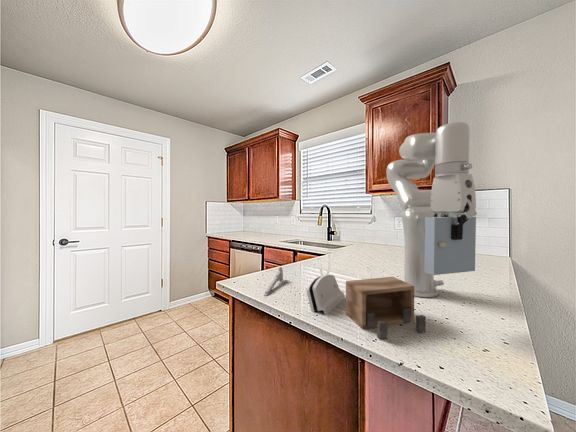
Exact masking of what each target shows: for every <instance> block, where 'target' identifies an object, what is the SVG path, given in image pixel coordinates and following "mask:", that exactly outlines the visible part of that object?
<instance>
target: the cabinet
mask: <svg viewBox="0 0 576 432" xmlns="http://www.w3.org/2000/svg"><path fill="white" fill-rule="evenodd" d="M345 315H346V316H347V317H348V318H350V320H351V321H353V322H354V323H355V324H356V325H357V326H358V327H360V329H362V330H365V329H366V330H369V329H374V328H377V329H376V330H377V331H376V332H377V333H376V335H377V336H376V338H377V339H379V340H386V339H388V326H393V325H401V324H409V323H414V322H415V332H417V333H418V334H421V333H426V322H427V321H426V320H427V319H426V316H425V315H424V314H418V315H415V296H414V286H413V285H411V284H409V283H406V282H404V280H402V279H399V278H397V277H394V276H386V277H375V278H365V279H364V278H363V279H354V280H353V279H351V280H346V281H345Z"/></svg>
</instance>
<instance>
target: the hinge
mask: <svg viewBox="0 0 576 432" xmlns="http://www.w3.org/2000/svg"><path fill="white" fill-rule="evenodd" d="M306 295H307V299H308V304H309V308H310V312H312V313H313V312H315V311H317V312H321V311H323V313H324V315H325V316H327V315H329V313H330V312H331V311H333V309H334V308H335V307H336V306H338V305H339V304H340V303H341V302H342V301H343V300H344V299H346V294H345V292H343V291H342V290H341V289H340V286H339V284H338V282H337V279H336V276H335V275H331V274H324V275H319V276H318V277H316V278H314V279H313V280H311V281H310V282H309V284H308V285H307V287H306Z"/></svg>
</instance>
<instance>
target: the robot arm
mask: <svg viewBox="0 0 576 432" xmlns="http://www.w3.org/2000/svg"><path fill="white" fill-rule="evenodd" d="M403 141H404V142H402V144H401V145H400V147H399V151H398V152H399V153H398V154H399V156H400V157H401V158H402V159H397V160H393V161H391V162H390V163H388V165H387V167H386V179H387V183H388V185H389V186H390V188H391V189H392V191H394V193H395V195H396V197H397V200H398V202H399V206H400V207H401V210H403V213H402V216H401V223H402V227H403V228H402V229H403V235H404V236H403V237H404V272H403V273H404V274H403V276H404V277H403V278H404V279H403V281H404V282H406V283H409V284H411V285H413V286H414V297H419V298H435V297H438V295H439V290H438V288H437V287H438V286H440V287H441V286H444V284H445V283H444V280H443V279H441V280H440V279H438V280H436V279H434V276H435V275H432V274H429V273H426V272H425V217H453V224H454V225H451V239H452V240H461V239H462V238H463V225H464V224H465V223H466V221H467V220H468V219H469V218H471V217H476V216H477V214H478V212H477V211H476V210H477V208H476V207H477V199H476V198H477V197H476V196H477V195H476V186H475V181H474V177H473V175H472V173H471V174H470V173H469V171H470V169H472V168H473V164H472V163H470V125H469V124H468V123H466V122H462V121H457V122H449V123H446V124H445V123H444V124H443V125H441V126H439V127H437V129H436V132H422V133H415V134H411V135H408V136H407V137H405V139H404V140H403ZM434 167H435V169H434ZM433 169H434V177H433V180H432V185H431V189H424V190H423V189H419V188H418V186H417V184H416V183H415V182H414V181H412V180H410V179H425V178H427V177H429V176H430V174H431V173H432V170H433Z"/></svg>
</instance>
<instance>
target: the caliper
mask: <svg viewBox="0 0 576 432" xmlns="http://www.w3.org/2000/svg"><path fill="white" fill-rule="evenodd" d="M283 271H284V270H283V268H282V266H279V268H278V271H277V272H276V274H275V277H274V278H273V280H272V281H271V283H270V284H269V285H268V287H267V288H266V290H265V291H264V293H263V294H264V295H263V296H264V297H267V296H268V295H270V293H271V291H272V290H273V288H274V286H275V285H276V283H277V282H282V281H283V280H284V272H283Z"/></svg>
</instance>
